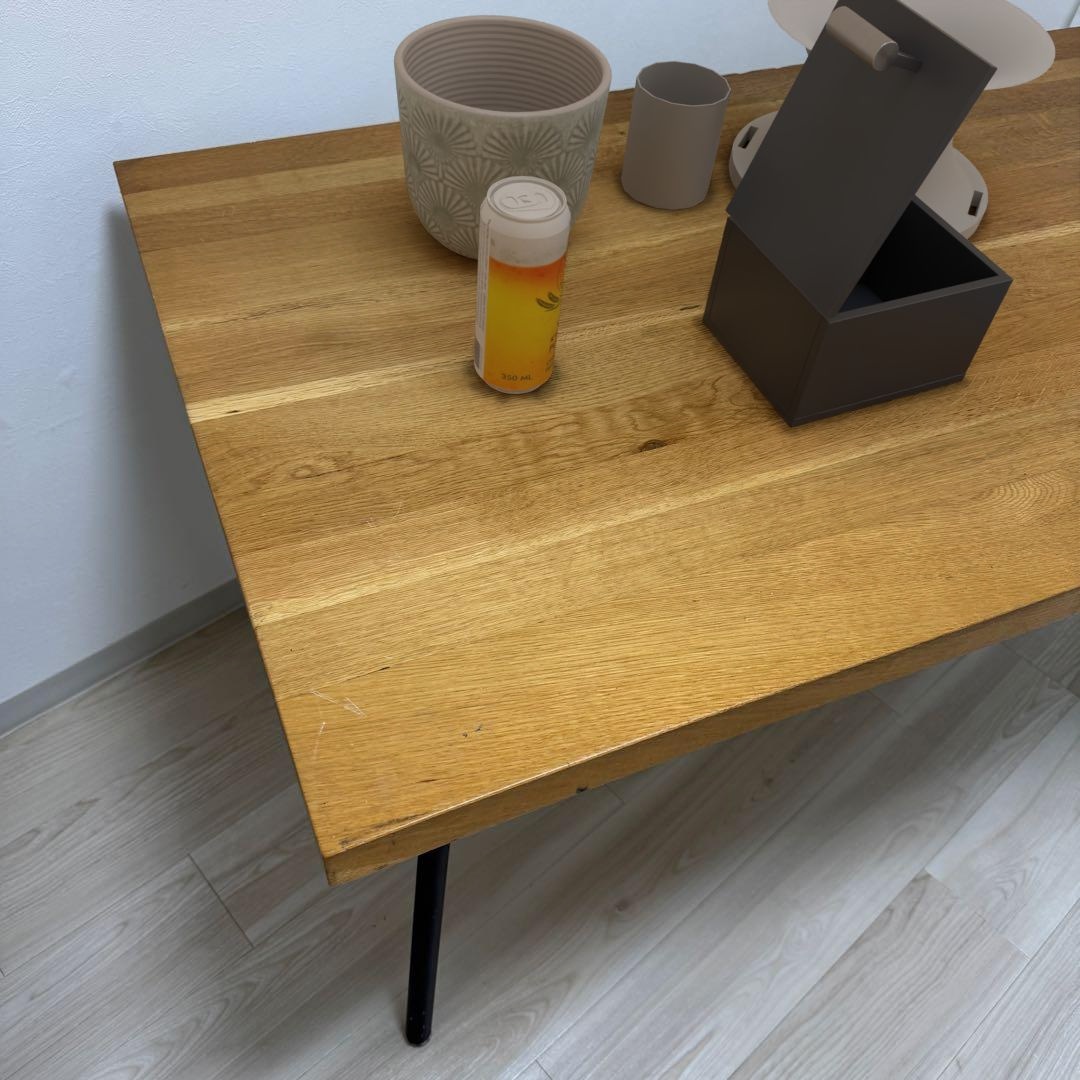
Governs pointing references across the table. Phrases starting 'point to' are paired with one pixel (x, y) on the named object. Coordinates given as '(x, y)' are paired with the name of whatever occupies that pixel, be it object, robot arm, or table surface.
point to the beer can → (520, 282)
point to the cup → (674, 134)
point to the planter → (495, 116)
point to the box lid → (855, 143)
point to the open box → (857, 319)
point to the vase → (974, 20)
